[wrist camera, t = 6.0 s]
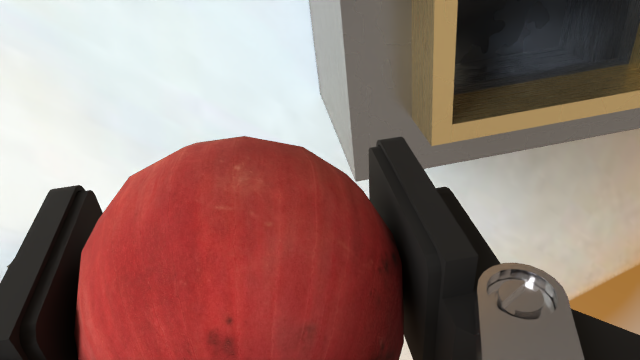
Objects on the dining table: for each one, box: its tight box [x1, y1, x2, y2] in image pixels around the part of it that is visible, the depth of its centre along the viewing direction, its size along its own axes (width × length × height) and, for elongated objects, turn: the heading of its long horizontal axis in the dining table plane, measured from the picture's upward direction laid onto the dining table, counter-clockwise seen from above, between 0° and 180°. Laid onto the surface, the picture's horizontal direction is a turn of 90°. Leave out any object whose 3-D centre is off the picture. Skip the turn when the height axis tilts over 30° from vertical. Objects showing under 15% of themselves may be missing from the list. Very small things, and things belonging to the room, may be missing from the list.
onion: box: [74, 136, 404, 360], centre depth 9 cm, size 6×6×8 cm
